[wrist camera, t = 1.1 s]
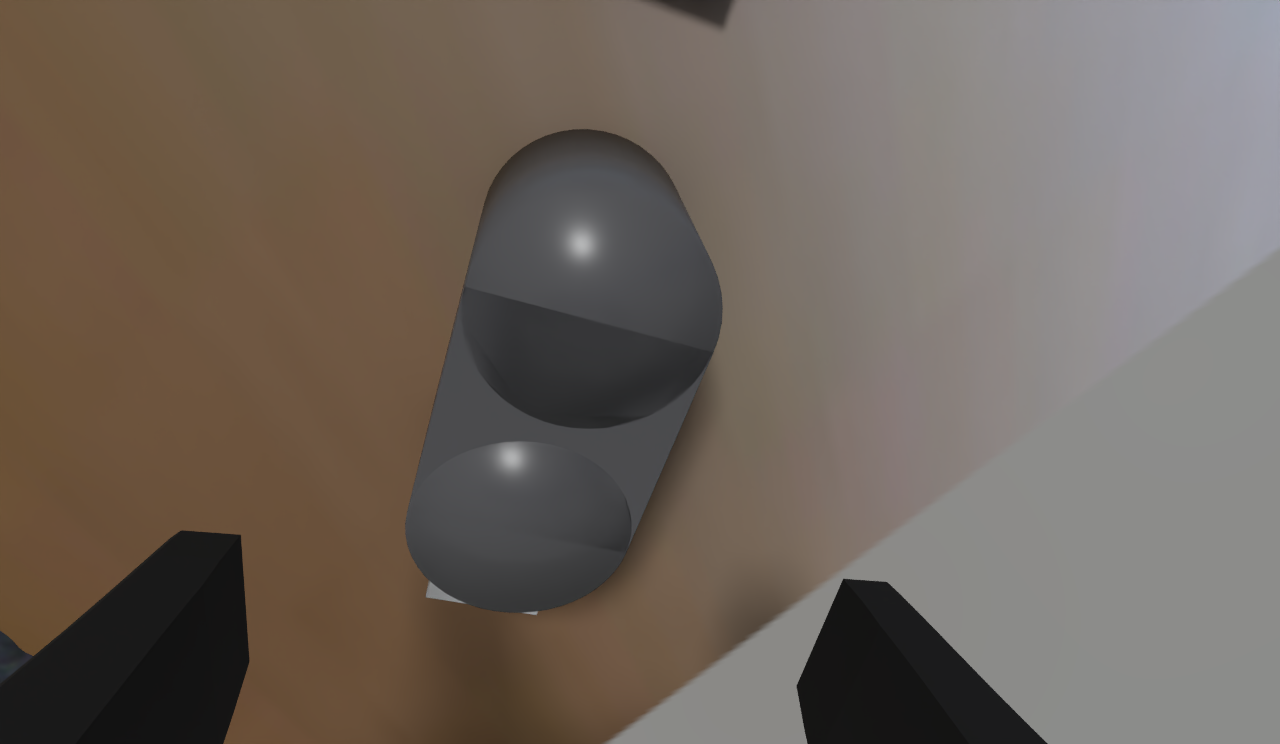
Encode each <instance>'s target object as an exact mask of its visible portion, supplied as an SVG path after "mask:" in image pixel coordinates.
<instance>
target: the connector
mask: <svg viewBox="0 0 1280 744" xmlns="http://www.w3.org/2000/svg"><path fill="white" fill-rule="evenodd" d="M722 309H723V308H722V295H721V289H720V285H719V280H718V277H717V274H716V271H715V269H714V266H713V264H712V262H711V259H710V257H709V255H708V253H707V251H706V249H705V247H704V245H703V243H702V241H701V239H700V237H699V235H698V233H697V231H696V229H695V227H694V225H693V223H692V220H691V218H690V216H689V214H688V212H687V210H686V208H685V206H684V204H683V202H682V200H681V198H680V196H679V194H678V192H677V190H676V188H675V186H674V184H673V182H672V180H671V178H670V177H669V175H668V174H667V172H666V171H665V170H664V168H663V167H662V166H661V164H660V163H659V162H658V161H657V160H656V159H655V158H654V157H653V156H652V155H651V154H649V153H648V152H647V151H645V150H644V149H643V148H642V147H640V146H638V145H637V144H635V143H633V142H631V141H630V140H628V139H625V138H623V137H620V136H618V135H615V134H611V133H608V132H604V131H597V130H589V129H582V130H568V131H561V132H557V133H554V134H550V135H547V136H545V137H542V138H540V139H538V140H536V141H533V142H532V143H530V144H529V145H527V146H525V147H524V148H522V149H521V150H520V151H518V152H517V153H516V154H515V155H514V156H512V157H511V158H510V159H509V160H508V162H507V163H506V164H505V165H504V166H503V167H502V168H501V170H500V171H499V173H498V174H497V176H496V177H495V179H494V180H493V183H492V185H491V187H490V189H489V191H488V194H487V197H486V200H485V203H484V206H483V210H482V214H481V218H480V222H479V226H478V230H477V234H476V238H475V242H474V246H473V250H472V254H471V258H470V262H469V266H468V270H467V274H466V278H465V282H464V286H463V290H462V293H461V297H460V301H459V305H458V309H457V313H456V317H455V321H454V325H453V329H452V333H451V337H450V341H449V345H448V349H447V353H446V357H445V361H444V365H443V369H442V373H441V377H440V380H439V384H438V388H437V392H436V396H435V401H434V405H433V409H432V413H431V417H430V421H429V425H428V429H427V433H426V437H425V442H424V446H423V450H422V454H421V458H420V462H419V466H418V470H417V474H416V478H415V482H414V487H413V491H412V495H411V499H410V503H409V507H408V511H407V517H406V523H405V527H406V539H407V544H408V548H409V551H410V553H411V556H412V558H413V560H414V561H415V563H416V565H417V567H418V568H419V569H420V570H421V572H422V573H423V574H424V576H425V577H426V578H427V579H428V580H429V582H428V587H427V592H426V597H428V598H434V599H440V600H446V601H453V602H459V603H465V604H469V605H472V606H476V607H479V608H483V609H487V610H492V611H500V612H514V613H527V614H533V615H537V612H538V611H542V610H548V609H552V608H555V607H559V606H562V605H565V604H568V603H570V602H573V601H575V600H577V599H579V598H581V597H583V596H585V595H587V594H589V593H590V592H592V591H593V590H595V589H596V588H598V587H599V586H600V585H601V584H602V583H604V582H605V581H606V580H607V579H608V578H609V577H610V576H611V575H612V574H613V573H614V571H615V570H616V569H617V567H618V566H619V565H620V563H621V561H622V560H623V558H624V556H625V554H626V552H627V549H628V547H629V545H630V543H631V540H632V538H633V536H634V533H635V531H636V529H637V527H638V524H639V522H640V520H641V517H642V515H643V513H644V510H645V508H646V506H647V504H648V501H649V499H650V497H651V494H652V492H653V490H654V488H655V485H656V483H657V481H658V478H659V476H660V474H661V471H662V469H663V467H664V465H665V462H666V460H667V458H668V455H669V453H670V451H671V448H672V446H673V444H674V442H675V439H676V437H677V435H678V432H679V430H680V428H681V426H682V423H683V421H684V419H685V416H686V414H687V412H688V409H689V407H690V405H691V403H692V400H693V398H694V396H695V393H696V391H697V389H698V386H699V384H700V382H701V380H702V377H703V375H704V373H705V370H706V368H707V366H708V364H709V361H710V359H711V357H712V354H713V352H714V349H715V346H716V344H717V341H718V338H719V333H720V328H721V324H722Z"/></svg>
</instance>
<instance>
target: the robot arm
mask: <svg viewBox="0 0 1280 744" xmlns="http://www.w3.org/2000/svg"><path fill="white" fill-rule="evenodd" d="M248 664H249V649H248V634H247V620H246V605H245V591H244V576H243V562H242V547H241V535H235V534H221V533H208V532H194V531H180V532H178V533H177V534H176V535H174V536H173V537H171V538H170V539H169V540H168V541H167V542H165V543H164V544H163V545H162V546H161V547H160V548H159V549H157V550H156V551H155V552H154V553H153V554H152V555H151V556H149V557H148V558H147V559H146V560H145V561H144V562H143V563H141V564H140V565H139V566H138V567H137V568H136V569H135V570H134V571H132V572H131V573H130V574H129V575H128V576H127V577H126V578H124V579H123V580H122V581H121V582H120V583H119V584H118V585H117V586H115V587H114V588H113V589H112V590H111V591H110V592H109V593H107V594H106V595H105V596H104V597H103V598H102V599H101V600H99V601H98V602H97V603H96V604H95V605H94V606H92V607H91V608H90V609H89V610H88V611H87V612H85V613H84V614H83V615H82V616H81V617H80V618H78V619H77V620H76V621H75V622H74V623H73V624H71V625H70V626H69V627H68V628H67V629H66V630H64V631H63V632H62V633H61V634H60V635H59V636H57V637H56V638H55V639H54V640H52V641H51V642H50V643H49V644H48V645H46V646H45V647H44V648H43V649H42V650H40V651H39V652H38V653H37V654H36V655H34V656H33V657H32V658H31V659H30V660H28V661H27V662H26V663H25V664H24V665H22V666H21V667H20V668H19V669H17V670H16V671H15V672H14V673H13V674H11V675H10V676H9V677H8V678H7V679H5V680H4V681H3V682H2V683H1V684H0V744H223V743H224V740H225V737H226V734H227V731H228V728H229V725H230V722H231V719H232V716H233V713H234V709H235V706H236V703H237V700H238V697H239V693H240V690H241V687H242V684H243V680H244V677H245V674H246V671H247V668H248ZM797 690H798V696H799V702H800V707H801V712H802V718H803V723H804V729H805V734H806V738H807V743H808V744H1047V743H1046V742H1045V741H1044V740H1043V739H1042V738H1041V737H1040V736H1039V735H1038V734H1037V733H1036V732H1035V731H1034V730H1033V729H1032V728H1031V727H1030V726H1029V725H1028V724H1027V723H1026V722H1025V721H1024V720H1023V719H1022V718H1021V717H1020V716H1019V715H1018V714H1017V713H1016V712H1015V711H1014V710H1013V709H1012V708H1011V707H1010V706H1009V705H1008V704H1007V703H1006V702H1005V701H1004V700H1003V699H1002V698H1001V697H1000V696H999V695H998V694H997V693H996V692H995V691H994V690H993V689H992V688H991V687H990V686H989V685H988V684H987V683H986V682H985V681H984V680H983V679H982V678H981V677H980V676H979V675H978V674H977V672H976V671H975V670H974V669H973V668H972V667H970V665H969V664H968V663H967V662H966V661H965V660H964V659H963V658H962V657H961V656H960V655H959V654H958V653H957V652H956V651H955V650H954V649H953V648H952V647H951V646H950V645H949V644H948V643H947V642H946V641H945V640H944V639H943V638H942V636H940V634H939V633H938V632H937V631H936V630H935V629H934V628H933V627H932V626H931V625H930V624H929V623H928V622H927V621H926V620H925V619H924V618H923V617H922V616H921V615H920V614H919V613H918V612H917V611H916V610H915V609H914V608H913V607H912V606H911V605H910V604H909V603H908V602H907V601H906V600H905V599H904V598H903V597H902V596H901V595H900V594H899V593H898V592H897V591H896V590H895V589H894V588H893V587H892V586H891V585H890V584H888V583H887V582H879V581H865V580H850V579H843V581H842V583H841V585H840V588H839V590H838V592H837V595H836V597H835V599H834V601H833V604H832V606H831V608H830V611H829V613H828V615H827V618H826V620H825V622H824V624H823V627H822V629H821V631H820V634H819V636H818V638H817V640H816V643H815V645H814V647H813V650H812V652H811V654H810V657H809V659H808V661H807V663H806V666H805V668H804V670H803V673H802V675H801V677H800V680H799V682H798V684H797Z"/></svg>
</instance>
